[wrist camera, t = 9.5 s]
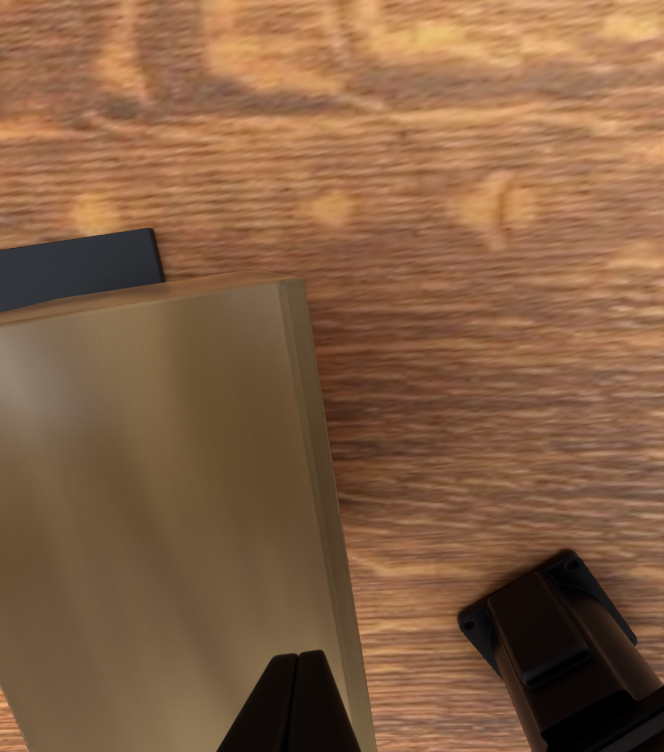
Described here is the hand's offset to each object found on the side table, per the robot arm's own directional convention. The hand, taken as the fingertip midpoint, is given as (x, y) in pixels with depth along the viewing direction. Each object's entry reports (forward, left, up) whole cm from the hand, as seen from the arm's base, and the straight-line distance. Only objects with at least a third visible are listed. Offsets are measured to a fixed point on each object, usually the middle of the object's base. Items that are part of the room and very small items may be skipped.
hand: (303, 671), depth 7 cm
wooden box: (0, 0, -7) cm, 7 cm away
